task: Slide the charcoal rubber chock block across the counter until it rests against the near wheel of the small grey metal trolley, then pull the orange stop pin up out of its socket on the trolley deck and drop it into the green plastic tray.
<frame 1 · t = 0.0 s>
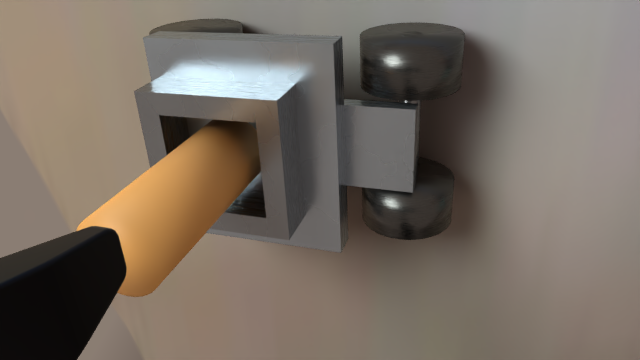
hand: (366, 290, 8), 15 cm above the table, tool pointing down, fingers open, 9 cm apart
stop pin: (233, 148, 20), point 5 cm above the table, touching trolley
trolley: (323, 108, 24), on the table
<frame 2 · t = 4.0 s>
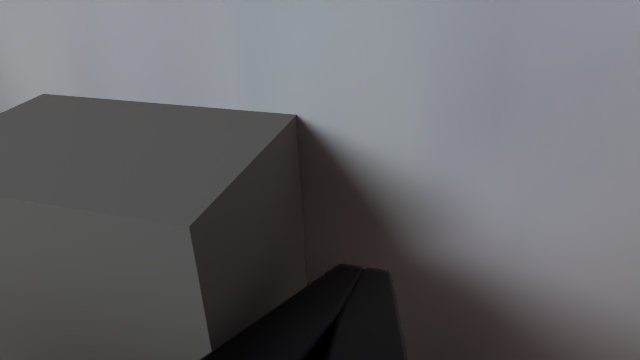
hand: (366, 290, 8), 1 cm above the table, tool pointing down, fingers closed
chock: (185, 210, 11), on the table, touching gripper
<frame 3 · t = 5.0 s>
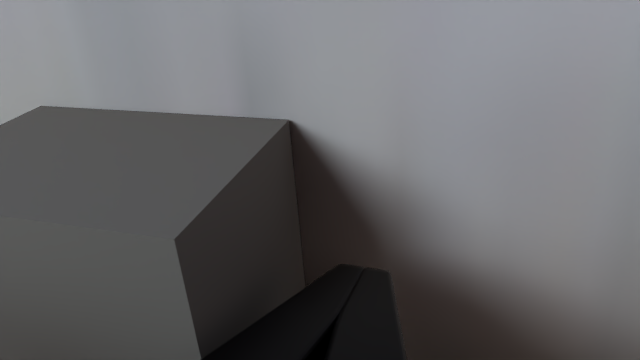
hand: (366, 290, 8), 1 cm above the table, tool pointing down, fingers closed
chock: (178, 222, 11), on the table, touching gripper
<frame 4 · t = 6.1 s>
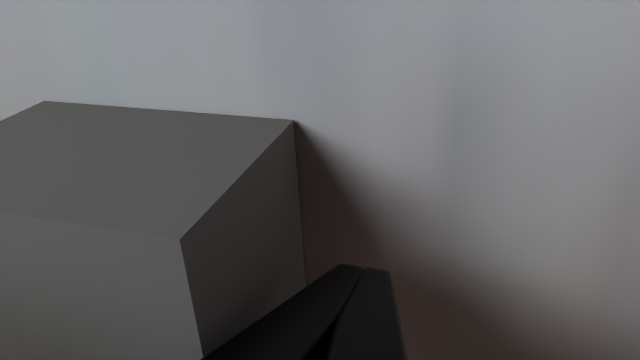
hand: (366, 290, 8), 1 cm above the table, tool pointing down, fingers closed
chock: (180, 219, 11), on the table, touching gripper
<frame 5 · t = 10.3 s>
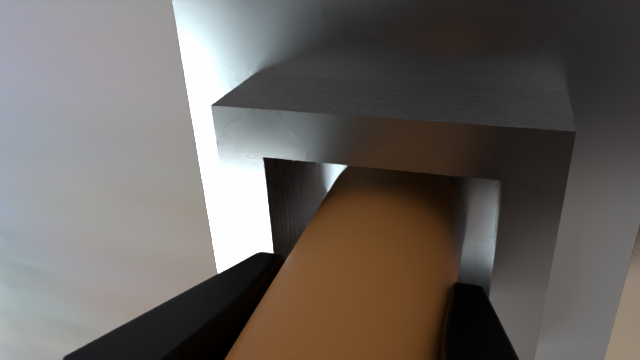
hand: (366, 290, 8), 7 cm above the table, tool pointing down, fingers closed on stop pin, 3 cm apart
stop pin: (394, 216, 10), point 5 cm above the table, touching gripper, trolley
trolley: (433, 46, 13), on the table
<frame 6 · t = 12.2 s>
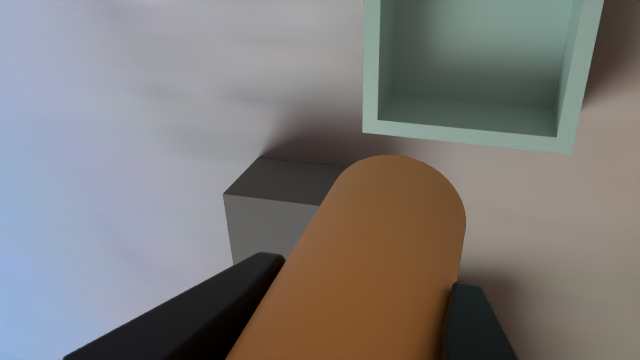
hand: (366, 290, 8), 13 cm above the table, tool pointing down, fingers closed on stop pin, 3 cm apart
chock: (311, 211, 25), on the table
stop pin: (394, 217, 10), point 11 cm above the table, touching gripper
when the fingers open (5 cm above the table, at t = 14.3 s): stop pin drops 2 cm, resting on tray.
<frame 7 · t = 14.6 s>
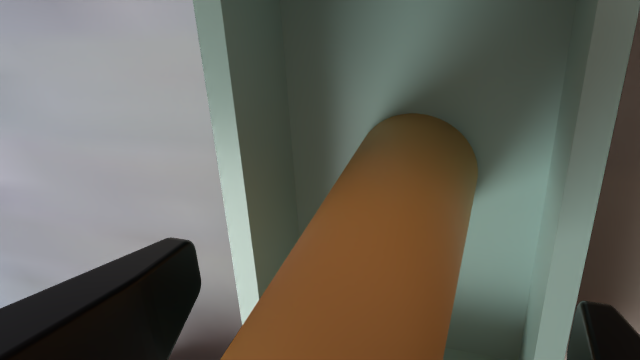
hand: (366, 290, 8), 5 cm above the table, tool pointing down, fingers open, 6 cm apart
stop pin: (415, 169, 12), point 1 cm above the table, touching tray
tray: (415, 158, 12), on the table
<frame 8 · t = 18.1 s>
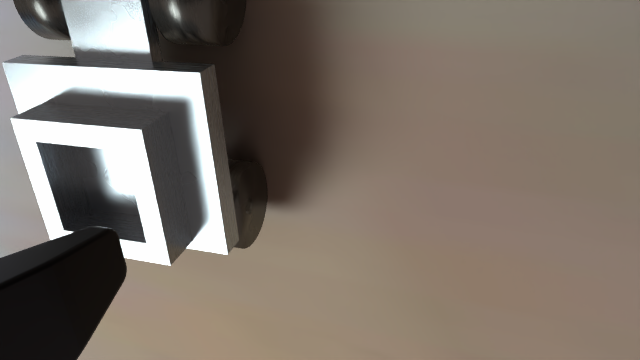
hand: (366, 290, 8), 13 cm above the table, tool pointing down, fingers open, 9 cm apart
trolley: (176, 82, 23), on the table
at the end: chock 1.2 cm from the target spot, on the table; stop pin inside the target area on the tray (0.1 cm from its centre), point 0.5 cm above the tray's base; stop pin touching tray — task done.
